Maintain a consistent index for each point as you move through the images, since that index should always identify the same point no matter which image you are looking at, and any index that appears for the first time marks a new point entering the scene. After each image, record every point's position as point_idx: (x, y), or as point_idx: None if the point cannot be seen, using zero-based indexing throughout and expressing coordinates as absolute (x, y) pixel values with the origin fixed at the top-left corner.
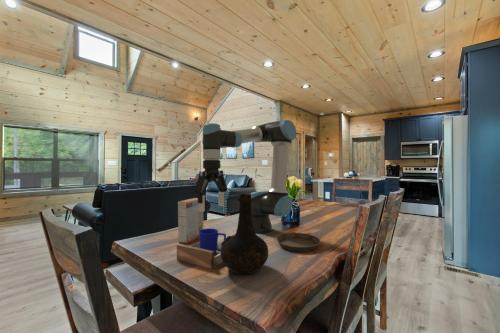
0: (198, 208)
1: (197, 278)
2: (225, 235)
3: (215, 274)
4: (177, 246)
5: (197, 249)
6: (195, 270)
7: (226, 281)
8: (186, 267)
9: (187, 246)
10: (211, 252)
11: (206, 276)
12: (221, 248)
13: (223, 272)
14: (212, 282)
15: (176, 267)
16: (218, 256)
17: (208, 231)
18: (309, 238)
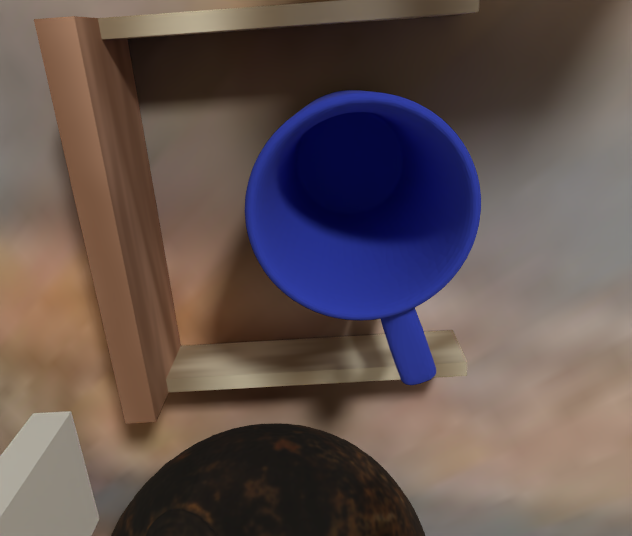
0: (5, 449)
1: (15, 376)
2: (412, 382)
3: (118, 421)
4: (43, 30)
5: (96, 292)
6: (72, 295)
7: (101, 504)
8: (58, 212)
9: (83, 157)
10: (127, 420)
11: (67, 398)
12: (132, 527)
13: (166, 439)
14: None
15: (6, 151)
16: (221, 386)
17: (434, 142)
18: None
